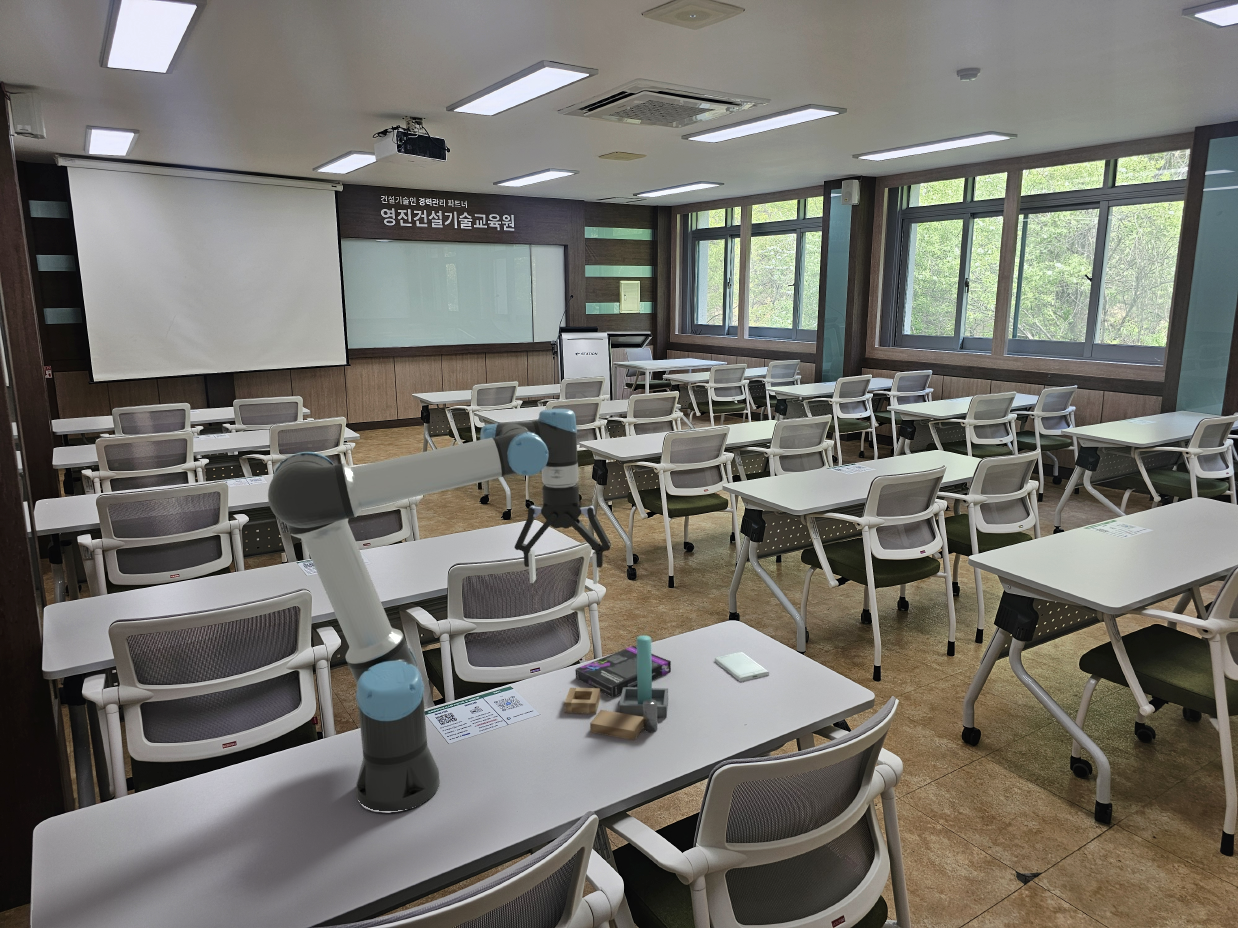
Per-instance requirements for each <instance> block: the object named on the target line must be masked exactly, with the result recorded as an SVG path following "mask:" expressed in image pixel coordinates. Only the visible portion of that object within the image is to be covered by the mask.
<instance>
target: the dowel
mask: <svg viewBox="0 0 1238 928" xmlns="http://www.w3.org/2000/svg"><path fill="white" fill-rule="evenodd" d="M636 647H637V687H636V688H638V704H643V701H645V700H647V699H652V688H653V685H652V683H653V680H652V667H651V653H652V637H651V636H649V635H639V636H637V637H636Z"/></svg>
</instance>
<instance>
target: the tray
mask: <svg viewBox="0 0 1238 928" xmlns="http://www.w3.org/2000/svg"><path fill="white" fill-rule="evenodd" d="M620 695H621V696H620V700H619V704H618V709H619V710H618V713H623V714H629V715H635V716H641V717H643V704H638V688H637V687H635V688H633V687H623V690H622V694H620ZM652 699H653V700H656V701H657V718H667V717H668V706H669V688H667V687H665V688H661V687H652Z"/></svg>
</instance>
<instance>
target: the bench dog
mask: <svg viewBox="0 0 1238 928" xmlns="http://www.w3.org/2000/svg"><path fill="white" fill-rule="evenodd" d="M642 730H643V731H645V732H647V733H654V732H657V731H658V717H657V701H656V700H653V699H647V700H645V701H643V728H642Z"/></svg>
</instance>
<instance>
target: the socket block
mask: <svg viewBox="0 0 1238 928" xmlns="http://www.w3.org/2000/svg"><path fill="white" fill-rule="evenodd" d="M600 701H601V691H600V688H593V687H569V690H568V692H567V694H566V698H565V700H564V713H566V714H591V715H592V714H594V715H595V714H596V715H597V712H598V708H599V704H600Z"/></svg>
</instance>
